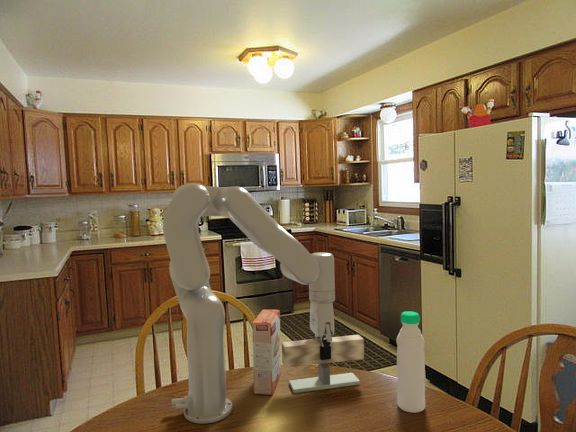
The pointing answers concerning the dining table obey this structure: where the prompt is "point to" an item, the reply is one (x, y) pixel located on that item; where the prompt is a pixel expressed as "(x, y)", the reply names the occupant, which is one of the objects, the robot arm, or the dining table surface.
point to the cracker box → (266, 351)
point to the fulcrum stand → (323, 380)
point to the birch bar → (310, 351)
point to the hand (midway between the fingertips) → (323, 355)
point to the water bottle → (410, 364)
